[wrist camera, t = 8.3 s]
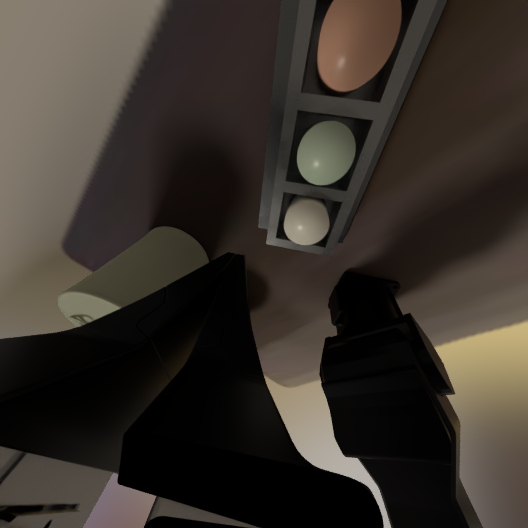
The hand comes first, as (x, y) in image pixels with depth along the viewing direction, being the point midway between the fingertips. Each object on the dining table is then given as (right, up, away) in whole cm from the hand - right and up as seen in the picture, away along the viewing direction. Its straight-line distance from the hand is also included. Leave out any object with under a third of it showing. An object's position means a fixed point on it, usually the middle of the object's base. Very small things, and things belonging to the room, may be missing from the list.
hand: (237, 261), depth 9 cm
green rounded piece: (+6, +9, +6) cm, 12 cm away
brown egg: (+6, +13, +3) cm, 15 cm away
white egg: (+5, +5, +9) cm, 12 cm away
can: (-11, +1, +17) cm, 20 cm away
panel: (+6, +10, +7) cm, 13 cm away
